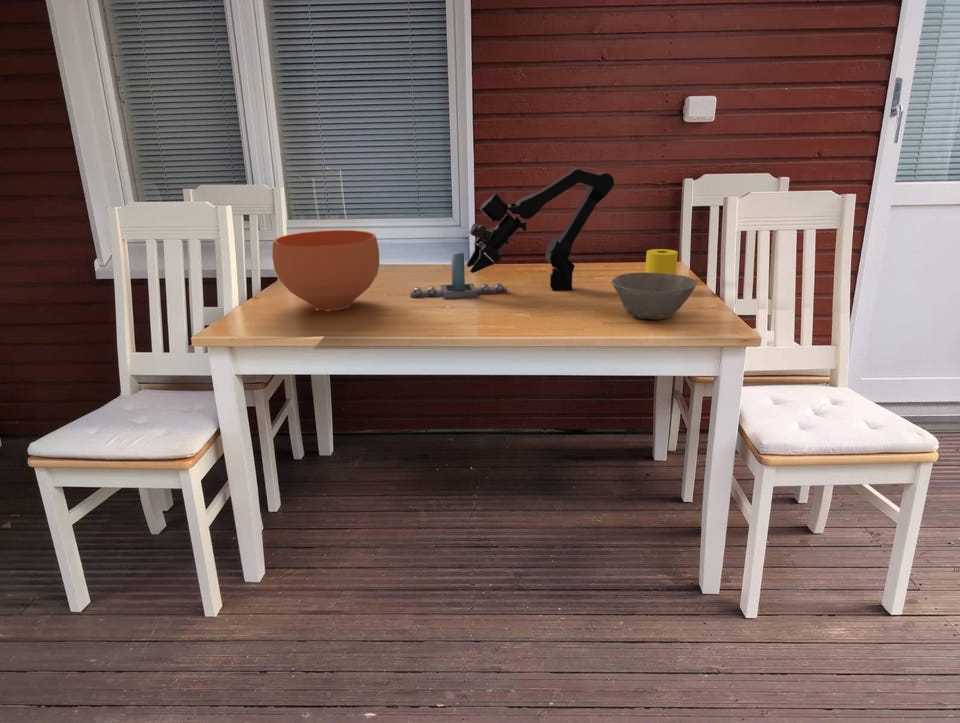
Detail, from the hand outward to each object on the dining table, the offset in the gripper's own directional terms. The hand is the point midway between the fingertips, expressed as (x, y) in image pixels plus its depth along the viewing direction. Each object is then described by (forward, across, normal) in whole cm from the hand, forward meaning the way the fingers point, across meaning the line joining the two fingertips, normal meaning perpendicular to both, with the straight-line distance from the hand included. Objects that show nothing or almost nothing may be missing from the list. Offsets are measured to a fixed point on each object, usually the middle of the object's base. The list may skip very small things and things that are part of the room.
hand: (469, 269), depth 205 cm
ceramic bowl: (-26, +36, +38) cm, 59 cm away
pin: (+8, 0, +3) cm, 9 cm away
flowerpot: (+35, +7, -25) cm, 44 cm away
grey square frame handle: (+8, 0, +3) cm, 9 cm away
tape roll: (-40, -6, +52) cm, 66 cm away
